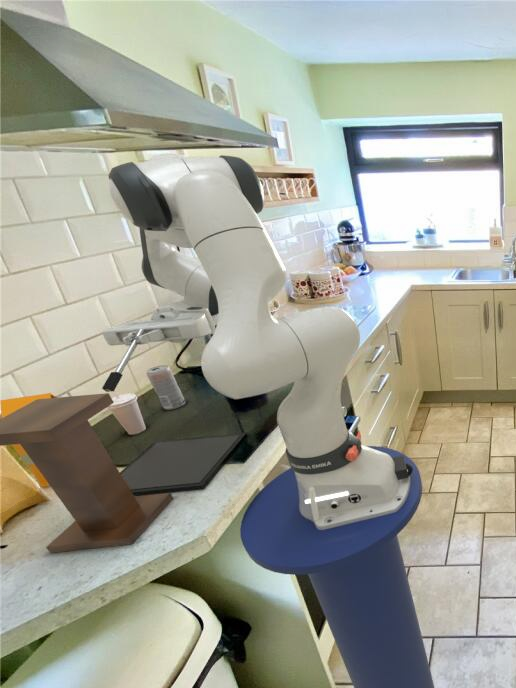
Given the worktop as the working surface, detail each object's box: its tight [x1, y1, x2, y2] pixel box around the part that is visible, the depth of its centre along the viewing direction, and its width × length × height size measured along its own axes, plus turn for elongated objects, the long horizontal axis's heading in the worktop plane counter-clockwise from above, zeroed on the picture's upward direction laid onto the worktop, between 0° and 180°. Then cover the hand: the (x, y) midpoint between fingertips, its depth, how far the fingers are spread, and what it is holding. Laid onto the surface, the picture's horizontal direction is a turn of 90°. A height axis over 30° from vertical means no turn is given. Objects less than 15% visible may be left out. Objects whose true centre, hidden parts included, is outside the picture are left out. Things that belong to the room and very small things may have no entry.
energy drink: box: [146, 364, 187, 411], centre depth 120 cm, size 5×5×12 cm
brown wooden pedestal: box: [0, 392, 174, 554], centre depth 75 cm, size 14×12×25 cm
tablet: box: [119, 432, 248, 497], centre depth 96 cm, size 22×20×1 cm
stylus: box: [101, 329, 145, 393], centre depth 86 cm, size 1×16×1 cm, turn 5°
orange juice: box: [0, 392, 58, 488], centre depth 91 cm, size 8×9×20 cm
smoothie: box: [106, 389, 147, 436], centre depth 108 cm, size 6×6×14 cm
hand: (133, 341), depth 88 cm, fingers closed on stylus, 1 cm apart
